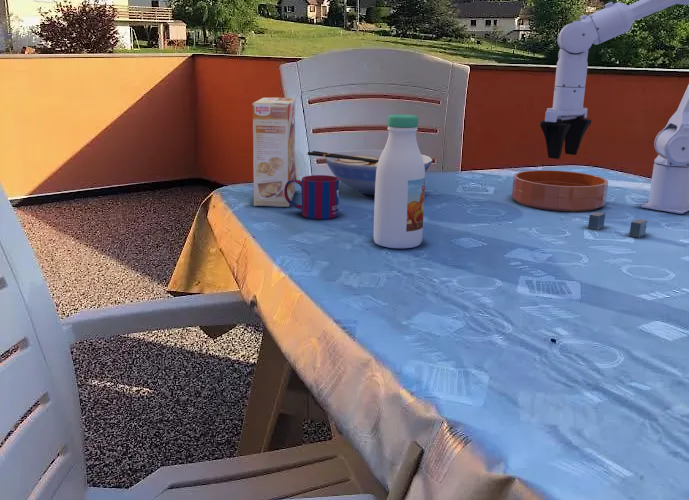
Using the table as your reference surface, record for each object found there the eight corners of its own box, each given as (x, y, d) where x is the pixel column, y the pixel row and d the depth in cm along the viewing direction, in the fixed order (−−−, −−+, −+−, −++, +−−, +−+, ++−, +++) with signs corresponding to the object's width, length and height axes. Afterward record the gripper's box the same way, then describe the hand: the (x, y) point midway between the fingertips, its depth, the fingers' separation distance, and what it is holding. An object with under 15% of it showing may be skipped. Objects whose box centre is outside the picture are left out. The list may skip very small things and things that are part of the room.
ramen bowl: (453, 190, 154) (455, 152, 152) (403, 209, 135) (405, 166, 133) (355, 177, 167) (356, 142, 164) (297, 193, 148) (297, 154, 146)
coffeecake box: (289, 207, 135) (289, 103, 129) (252, 206, 135) (250, 102, 130) (296, 191, 149) (296, 97, 144) (262, 190, 149) (261, 96, 144)
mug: (332, 220, 125) (333, 182, 124) (279, 216, 128) (279, 179, 126) (342, 212, 132) (343, 176, 130) (291, 208, 134) (291, 172, 132)
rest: (587, 228, 124) (589, 214, 123) (594, 225, 126) (596, 211, 125) (638, 238, 118) (640, 223, 117) (645, 234, 120) (647, 220, 120)
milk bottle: (389, 252, 107) (394, 118, 102) (364, 239, 114) (368, 113, 108) (431, 246, 111) (439, 117, 105) (405, 234, 117) (410, 112, 112)
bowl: (537, 189, 157) (539, 167, 155) (619, 202, 145) (622, 178, 144) (494, 201, 144) (496, 177, 142) (581, 217, 132) (584, 190, 130)
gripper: (566, 84, 146) (559, 150, 149) (533, 86, 135) (526, 157, 139) (600, 86, 141) (592, 154, 145) (568, 88, 131) (560, 162, 134)
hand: (562, 156), depth 142 cm, fingers open, 7 cm apart
